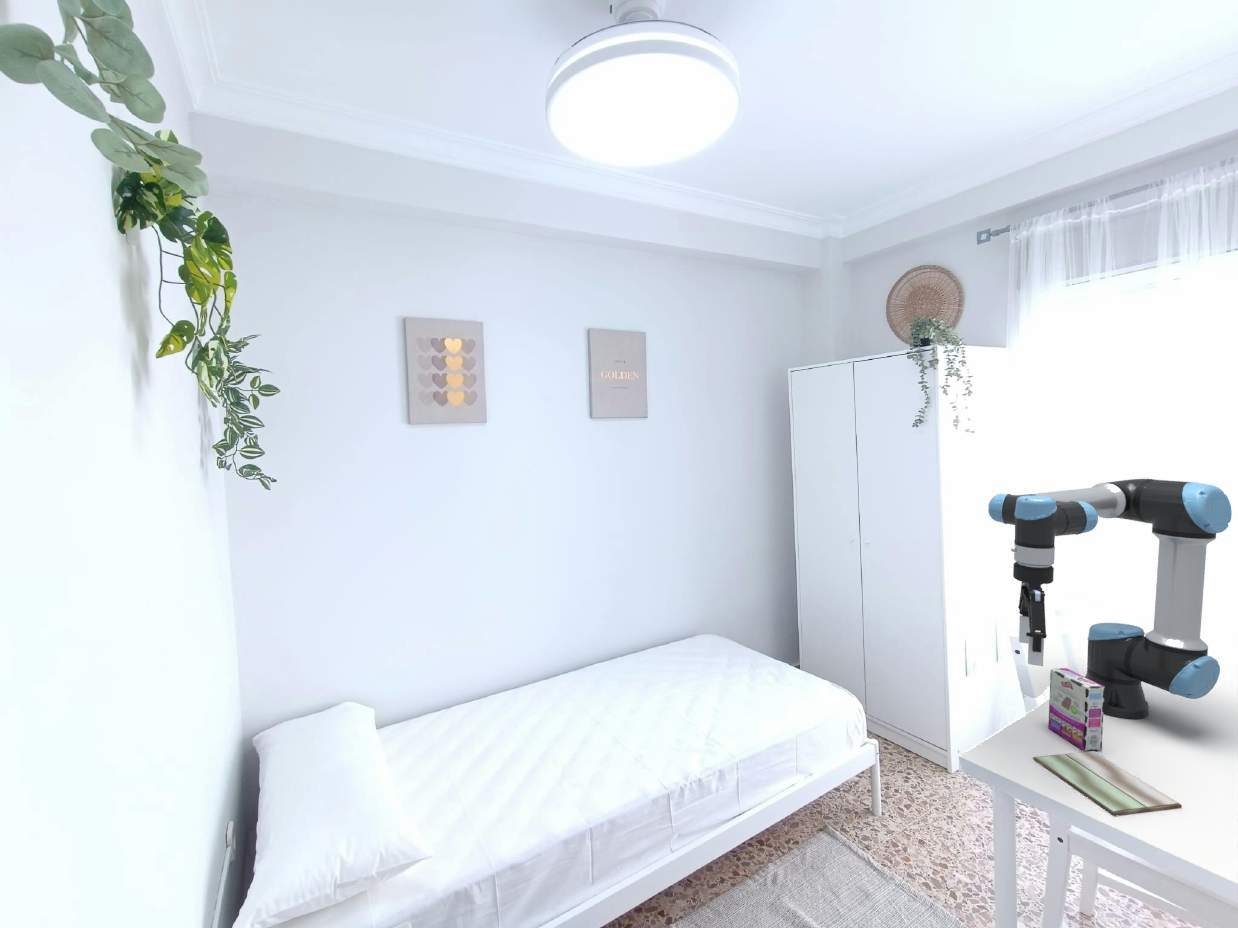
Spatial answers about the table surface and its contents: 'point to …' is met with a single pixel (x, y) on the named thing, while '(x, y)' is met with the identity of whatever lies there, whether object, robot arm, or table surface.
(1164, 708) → the table surface
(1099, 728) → the candy bar box
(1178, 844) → the table surface
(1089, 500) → the robot arm
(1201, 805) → the table surface
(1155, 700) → the table surface
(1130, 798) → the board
